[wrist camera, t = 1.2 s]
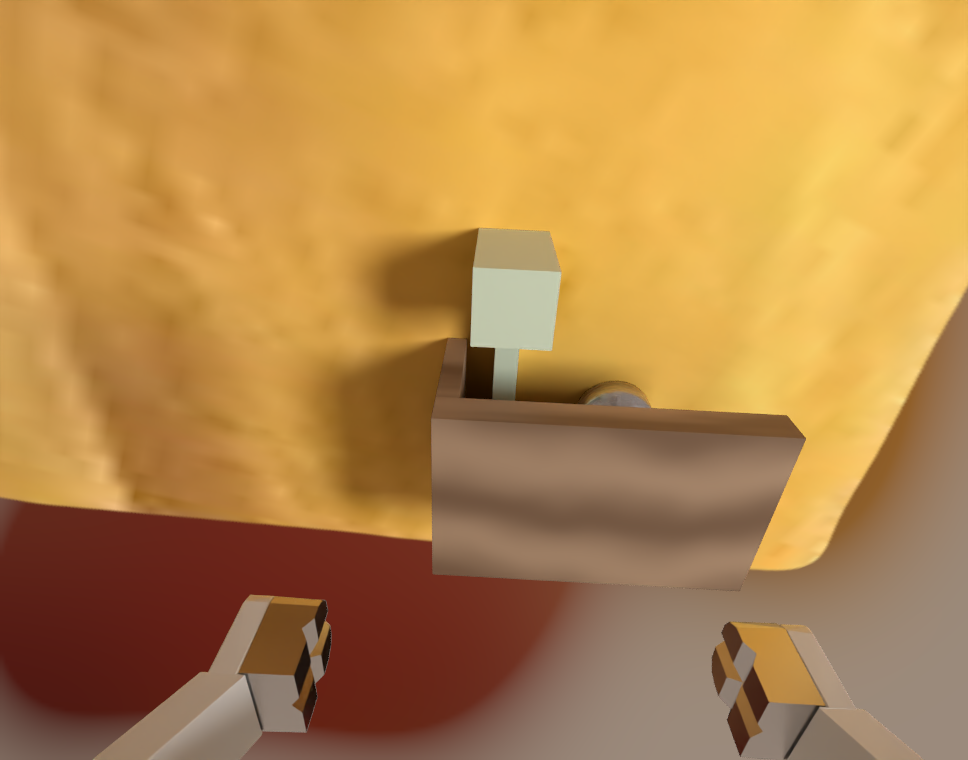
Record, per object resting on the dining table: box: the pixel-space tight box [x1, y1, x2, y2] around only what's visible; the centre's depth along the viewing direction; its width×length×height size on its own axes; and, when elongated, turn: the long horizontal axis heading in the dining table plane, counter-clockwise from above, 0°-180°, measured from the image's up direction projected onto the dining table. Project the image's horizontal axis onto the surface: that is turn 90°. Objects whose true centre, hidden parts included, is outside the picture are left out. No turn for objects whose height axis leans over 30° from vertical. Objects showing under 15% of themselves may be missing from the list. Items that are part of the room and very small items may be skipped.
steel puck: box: [577, 381, 651, 408], centre depth 35 cm, size 5×5×2 cm
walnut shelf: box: [431, 338, 806, 591], centre depth 32 cm, size 11×18×9 cm, turn 87°
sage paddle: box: [470, 228, 561, 401], centre depth 31 cm, size 16×4×7 cm, turn 177°
